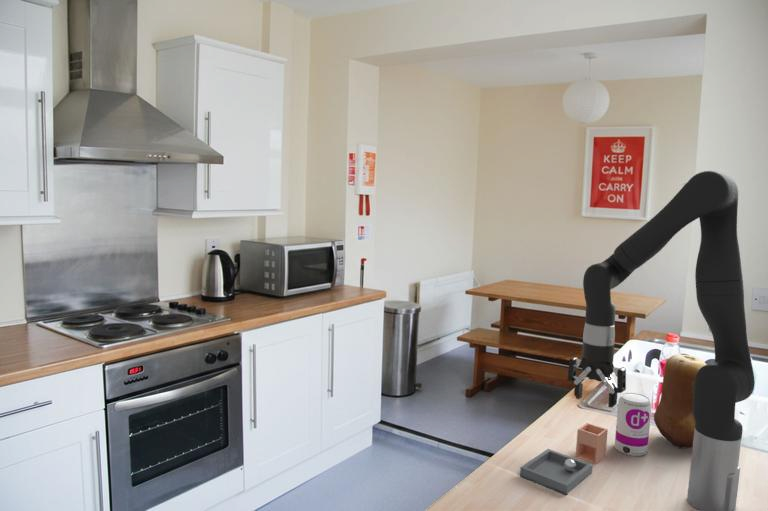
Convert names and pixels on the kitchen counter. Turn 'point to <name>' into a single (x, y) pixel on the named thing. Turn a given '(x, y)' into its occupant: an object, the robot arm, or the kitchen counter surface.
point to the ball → (570, 465)
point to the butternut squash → (678, 400)
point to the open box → (591, 443)
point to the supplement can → (633, 424)
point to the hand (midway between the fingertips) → (594, 402)
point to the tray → (555, 471)
